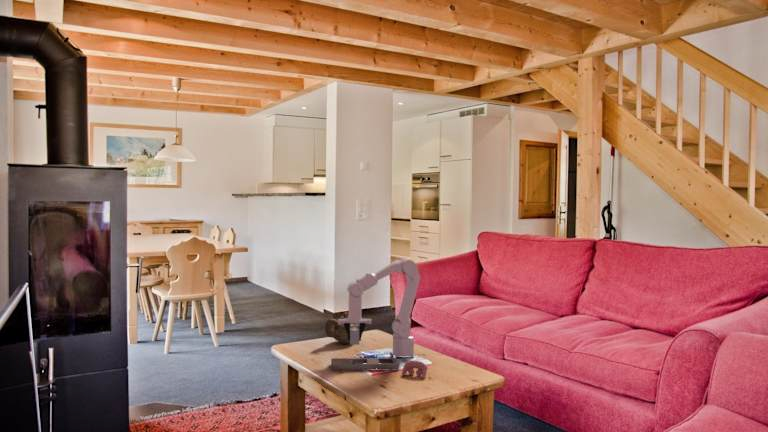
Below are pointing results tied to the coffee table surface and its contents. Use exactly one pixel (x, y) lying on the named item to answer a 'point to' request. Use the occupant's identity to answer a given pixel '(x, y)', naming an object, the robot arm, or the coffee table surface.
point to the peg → (354, 336)
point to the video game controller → (415, 364)
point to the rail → (357, 364)
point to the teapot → (339, 329)
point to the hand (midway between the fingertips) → (354, 340)
